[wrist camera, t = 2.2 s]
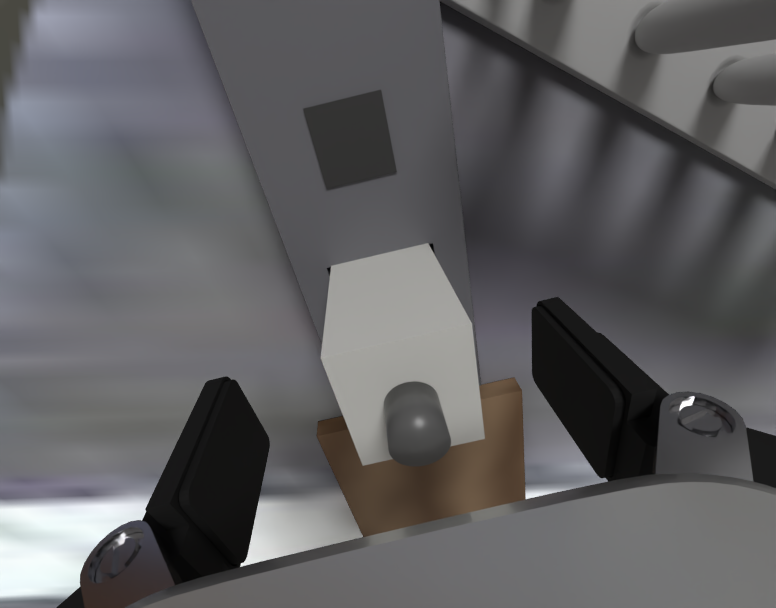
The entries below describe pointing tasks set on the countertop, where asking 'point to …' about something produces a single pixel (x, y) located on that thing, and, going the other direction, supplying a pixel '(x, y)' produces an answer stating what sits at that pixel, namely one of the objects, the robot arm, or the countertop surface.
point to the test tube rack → (663, 63)
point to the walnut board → (435, 470)
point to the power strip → (345, 130)
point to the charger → (401, 358)
